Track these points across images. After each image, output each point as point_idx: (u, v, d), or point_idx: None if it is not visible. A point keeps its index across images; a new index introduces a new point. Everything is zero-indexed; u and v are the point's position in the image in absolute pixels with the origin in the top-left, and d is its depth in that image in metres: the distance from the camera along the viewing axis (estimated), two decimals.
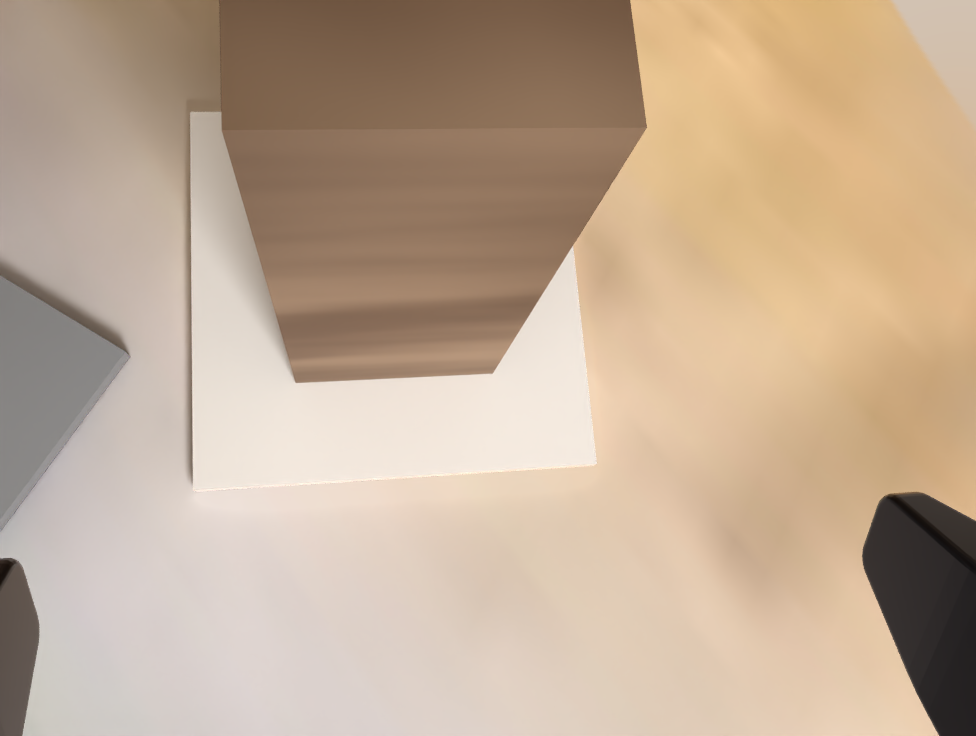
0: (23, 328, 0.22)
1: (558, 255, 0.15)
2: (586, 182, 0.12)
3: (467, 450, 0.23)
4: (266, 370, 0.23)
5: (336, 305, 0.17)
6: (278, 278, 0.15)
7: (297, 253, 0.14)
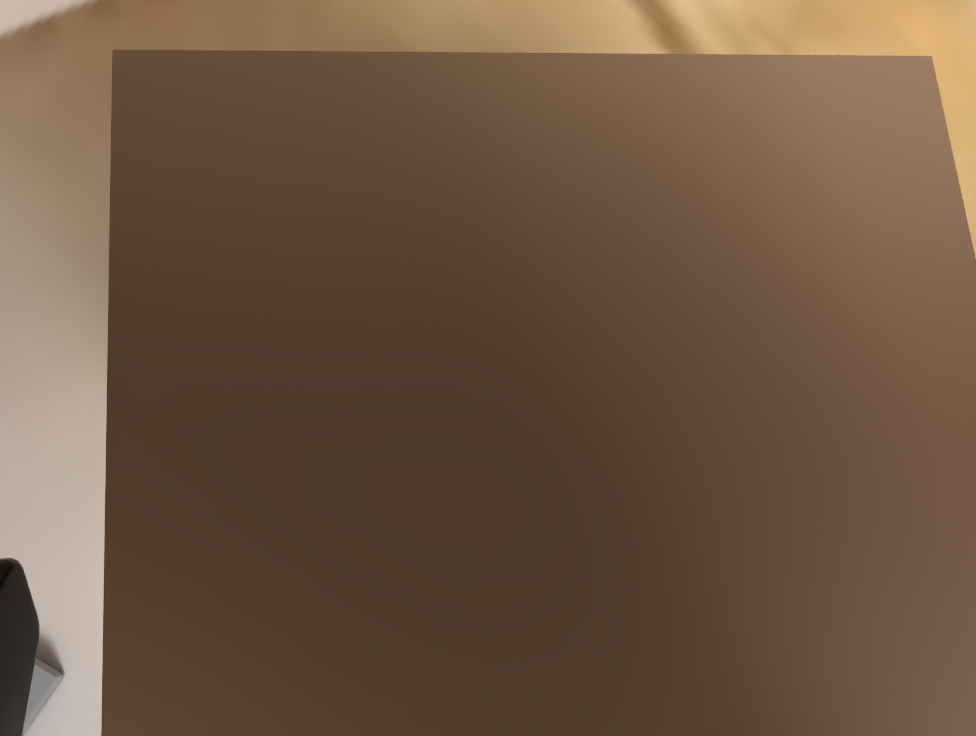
0: None
1: None
2: None
3: None
4: None
5: None
6: None
7: None
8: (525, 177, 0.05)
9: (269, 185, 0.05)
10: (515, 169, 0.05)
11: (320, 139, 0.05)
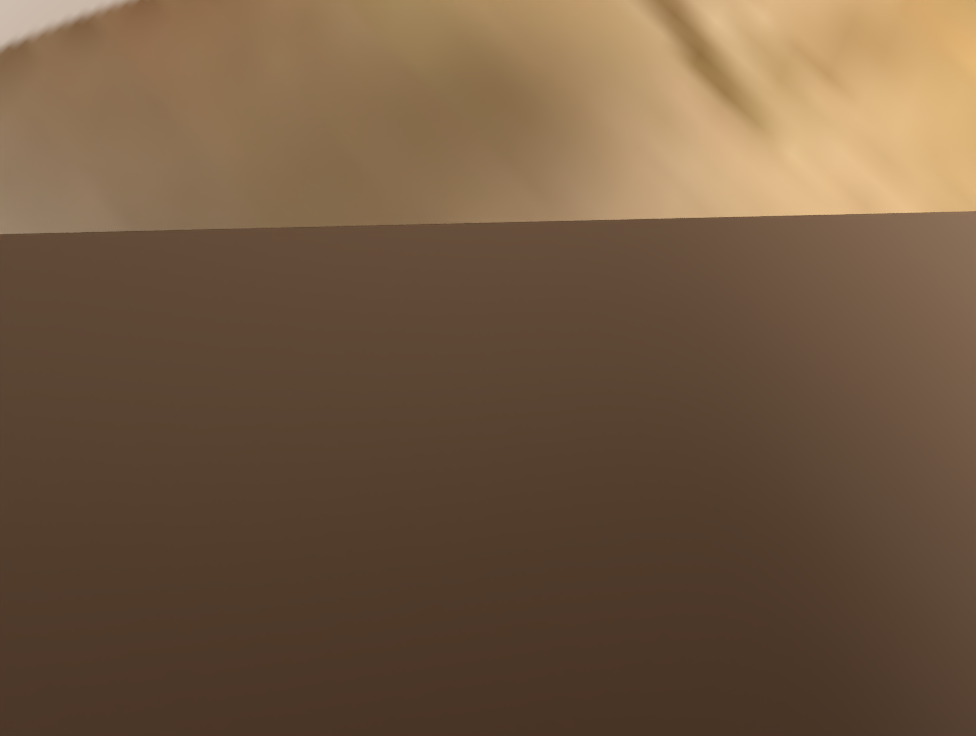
0: None
1: None
2: None
3: None
4: None
5: None
6: None
7: None
8: (614, 419, 0.03)
9: (222, 449, 0.03)
10: (601, 407, 0.03)
11: (302, 370, 0.03)
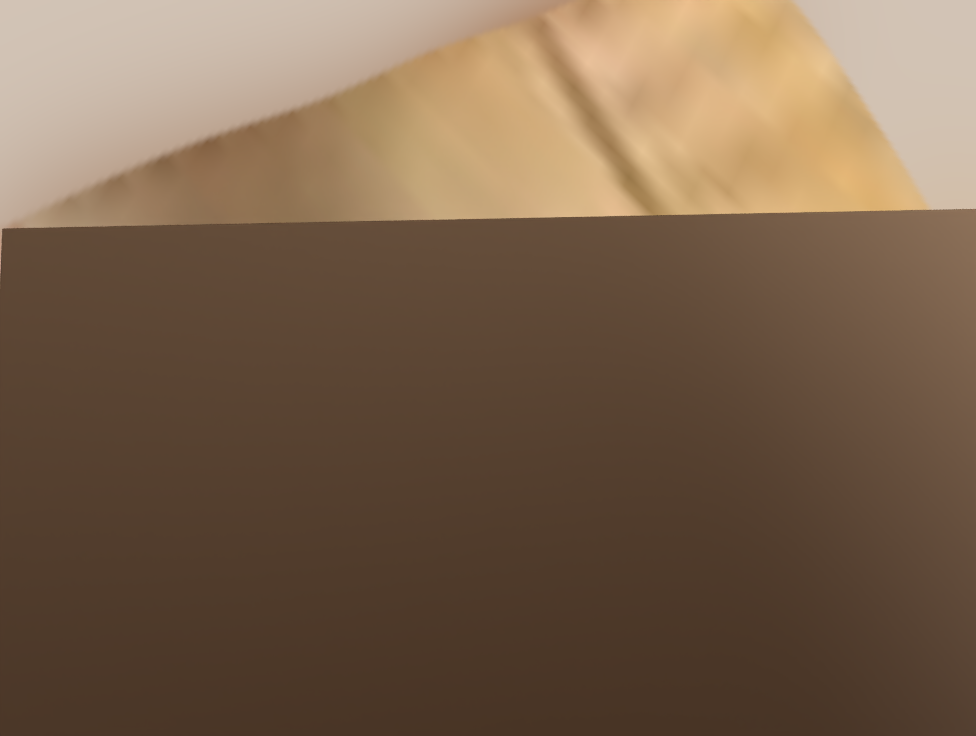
0: None
1: None
2: None
3: None
4: None
5: None
6: None
7: None
8: (623, 412, 0.04)
9: (238, 440, 0.03)
10: (607, 401, 0.04)
11: (317, 363, 0.03)
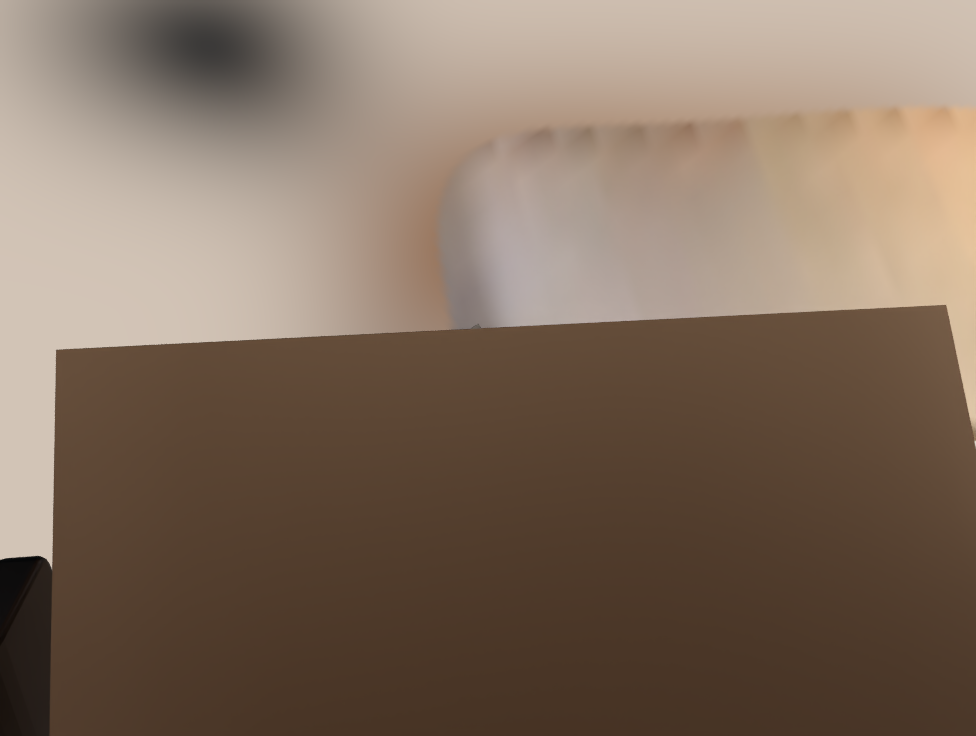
0: None
1: None
2: None
3: None
4: None
5: None
6: None
7: None
8: (505, 473, 0.05)
9: (226, 499, 0.05)
10: (495, 465, 0.05)
11: (282, 442, 0.05)
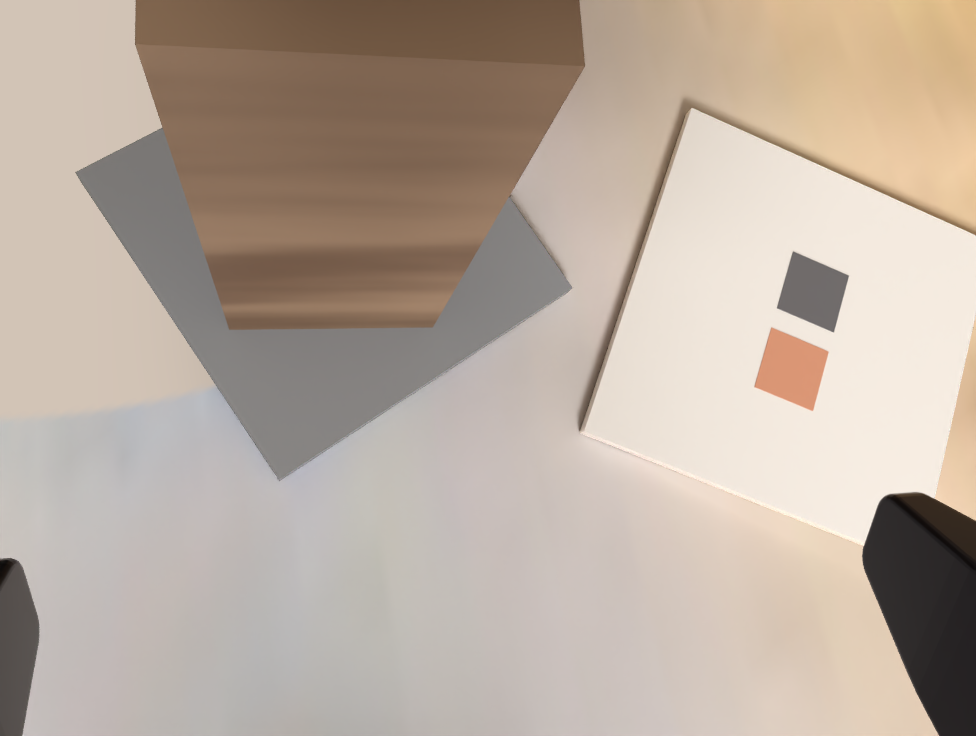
0: (498, 230, 0.24)
1: (496, 202, 0.15)
2: (523, 124, 0.12)
3: (817, 502, 0.24)
4: (677, 356, 0.24)
5: (268, 247, 0.16)
6: (206, 215, 0.15)
7: (224, 187, 0.14)
8: None
9: None
10: None
11: None
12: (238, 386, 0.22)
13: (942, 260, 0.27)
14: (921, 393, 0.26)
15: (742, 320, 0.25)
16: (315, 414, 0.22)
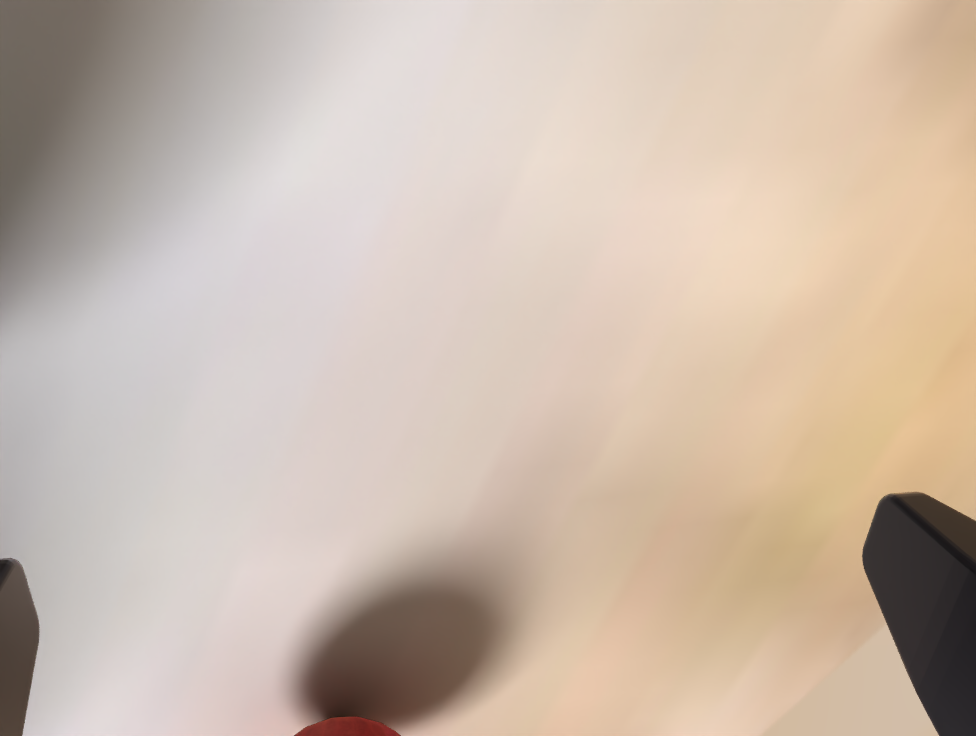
0: None
1: None
2: None
3: None
4: None
5: None
6: None
7: None
8: None
9: None
10: None
11: None
12: None
13: None
14: None
15: None
16: None
